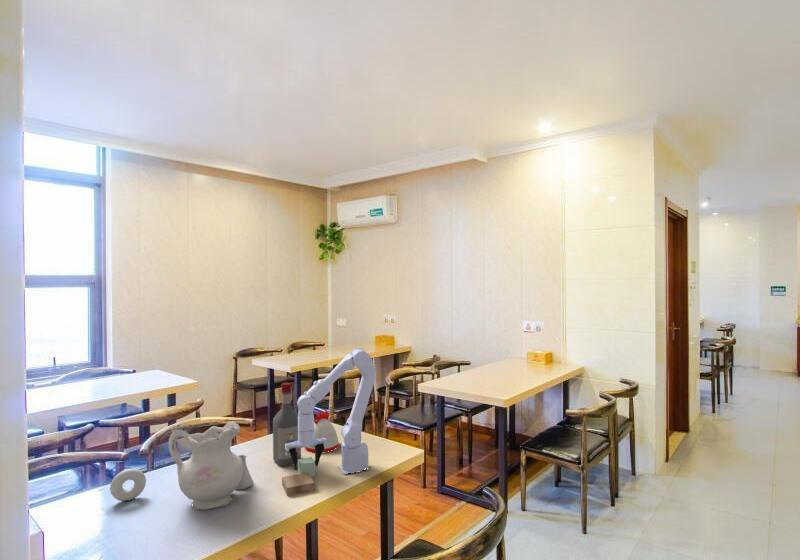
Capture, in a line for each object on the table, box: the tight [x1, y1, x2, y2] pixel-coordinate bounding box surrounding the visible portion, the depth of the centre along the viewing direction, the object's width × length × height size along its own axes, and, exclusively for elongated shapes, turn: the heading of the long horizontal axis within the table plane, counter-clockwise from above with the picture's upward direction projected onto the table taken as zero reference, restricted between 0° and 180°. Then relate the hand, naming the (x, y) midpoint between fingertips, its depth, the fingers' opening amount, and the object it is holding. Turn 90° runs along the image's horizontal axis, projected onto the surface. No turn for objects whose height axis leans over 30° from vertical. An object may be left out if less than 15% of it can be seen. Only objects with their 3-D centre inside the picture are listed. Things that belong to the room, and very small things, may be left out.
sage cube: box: [297, 456, 316, 477], centre depth 165 cm, size 5×5×5 cm
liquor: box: [272, 382, 302, 467], centre depth 177 cm, size 9×9×30 cm
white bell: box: [304, 409, 339, 454], centre depth 192 cm, size 14×14×15 cm
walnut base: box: [281, 472, 315, 497], centre depth 155 cm, size 9×9×3 cm
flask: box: [235, 454, 254, 491], centre depth 156 cm, size 7×7×10 cm
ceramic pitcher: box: [168, 420, 243, 511], centre depth 145 cm, size 22×20×25 cm
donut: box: [109, 468, 147, 502], centre depth 147 cm, size 10×3×10 cm, turn 124°
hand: (306, 467), depth 165 cm, fingers open, 7 cm apart
